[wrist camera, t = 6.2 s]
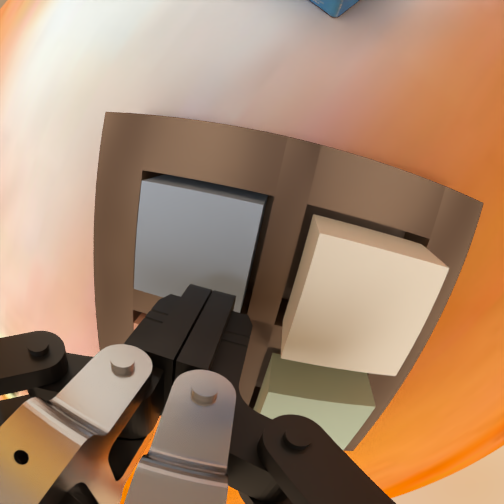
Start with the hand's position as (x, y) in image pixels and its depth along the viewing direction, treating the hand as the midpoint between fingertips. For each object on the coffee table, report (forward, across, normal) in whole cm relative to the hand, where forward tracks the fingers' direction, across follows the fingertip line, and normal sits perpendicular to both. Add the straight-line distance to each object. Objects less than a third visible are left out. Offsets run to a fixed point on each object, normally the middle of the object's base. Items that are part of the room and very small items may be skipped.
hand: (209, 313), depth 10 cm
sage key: (+3, -5, +5) cm, 8 cm away
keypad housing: (+6, -2, +2) cm, 7 cm away
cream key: (+3, -5, -1) cm, 6 cm away
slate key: (+4, +1, -1) cm, 5 cm away
